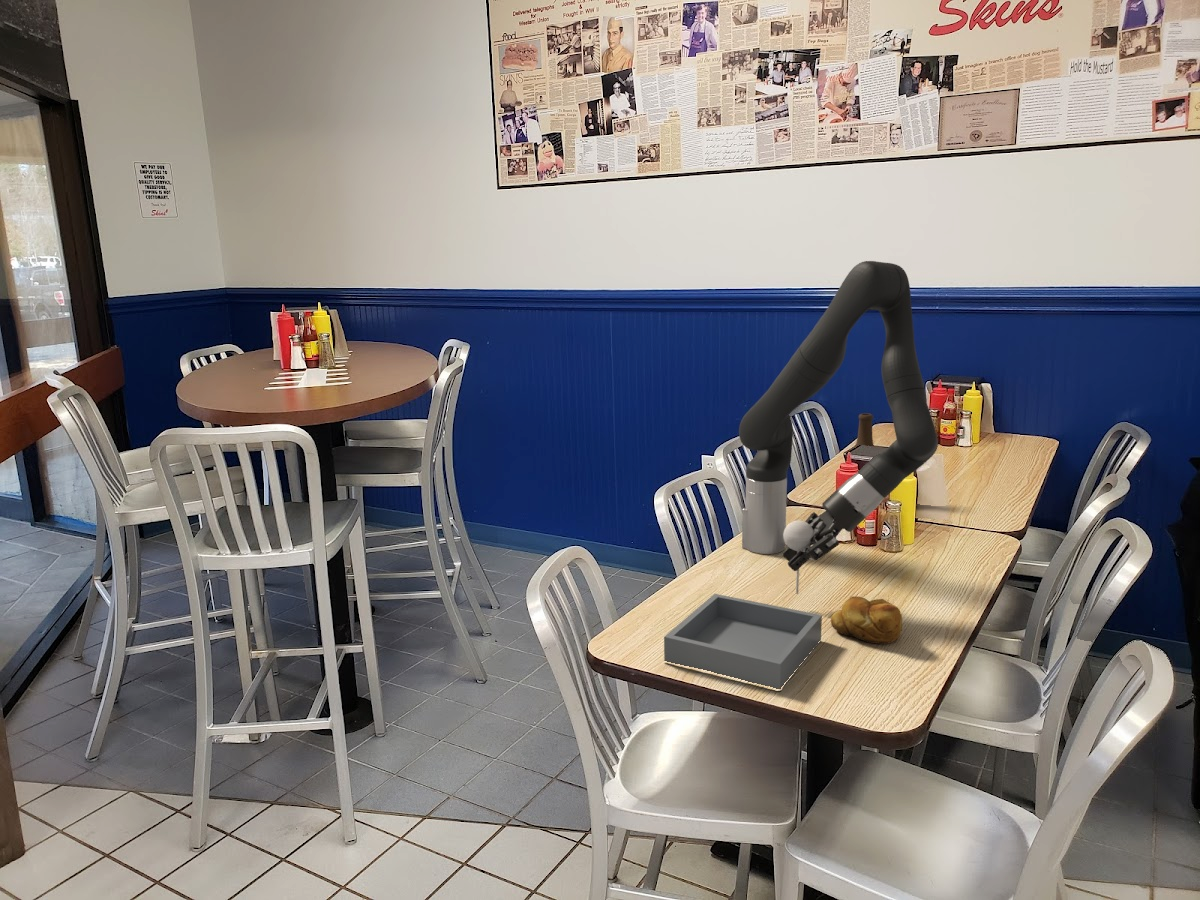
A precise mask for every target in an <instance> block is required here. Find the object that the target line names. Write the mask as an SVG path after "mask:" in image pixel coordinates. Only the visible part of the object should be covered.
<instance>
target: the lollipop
mask: <svg viewBox="0 0 1200 900" xmlns="http://www.w3.org/2000/svg"><path fill="white" fill-rule="evenodd" d="M813 531H814V530H813V528H812V527H811V526H810V525H809V524H808V523H807V522H805V521H804V520H799V519H797V520H793V521H791V522H789V523H788V524H786V528H785V530H784V533H783V537H784V541H785V546H787V548H788V547H789V548H791V549H793V550H795V551H797V553H798V552H799V551H800V550H801V551H802V549H803V548H804V547H805V546H806V545H807V544H808V543H809V542H810V538H811V536H812V534H813ZM795 575H796V577H795V578H796V581H795V594H796V595H799V586H800V585H799V581H800V568H799V569H798V570H797V571H796V574H795Z"/></svg>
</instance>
